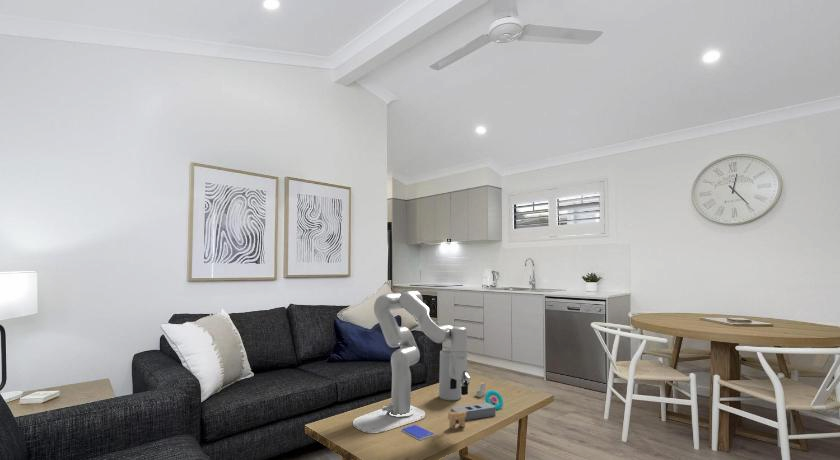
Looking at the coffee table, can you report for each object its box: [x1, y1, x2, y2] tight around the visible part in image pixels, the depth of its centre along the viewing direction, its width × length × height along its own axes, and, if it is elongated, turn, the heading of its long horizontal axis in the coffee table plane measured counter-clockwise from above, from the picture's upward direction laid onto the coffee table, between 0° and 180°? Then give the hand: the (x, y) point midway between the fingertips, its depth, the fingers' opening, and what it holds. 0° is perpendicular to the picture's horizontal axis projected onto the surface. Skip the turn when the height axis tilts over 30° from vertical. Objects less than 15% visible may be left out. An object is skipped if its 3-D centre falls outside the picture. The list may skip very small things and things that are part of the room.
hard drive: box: [401, 424, 435, 441], centre depth 186 cm, size 2×8×12 cm
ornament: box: [484, 390, 504, 411], centre depth 223 cm, size 11×4×10 cm
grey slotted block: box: [450, 402, 497, 423], centre depth 209 cm, size 22×7×4 cm, turn 117°
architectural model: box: [474, 382, 486, 398], centre depth 242 cm, size 3×7×7 cm, turn 144°
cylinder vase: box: [438, 349, 462, 401], centre depth 237 cm, size 12×12×25 cm
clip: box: [447, 410, 467, 430], centre depth 194 cm, size 8×3×6 cm, turn 117°
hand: (458, 391), depth 195 cm, fingers open, 9 cm apart
